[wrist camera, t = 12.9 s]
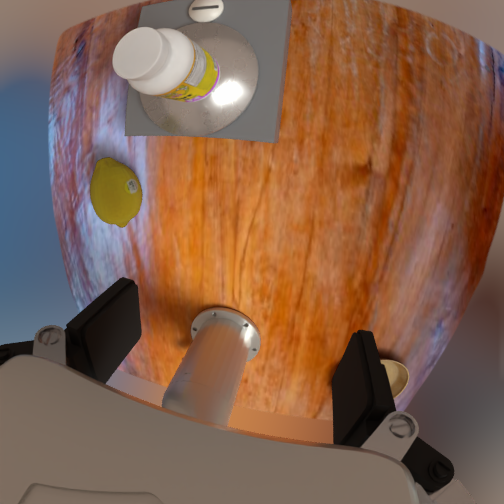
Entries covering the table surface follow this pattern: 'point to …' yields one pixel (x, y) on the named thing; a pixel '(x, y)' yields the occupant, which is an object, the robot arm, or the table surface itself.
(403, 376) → the plant saucer
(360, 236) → the table surface
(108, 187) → the lemon
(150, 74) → the supplement bottle
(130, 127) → the kitchen scale
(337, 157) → the table surface
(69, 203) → the table surface
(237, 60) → the scale pan
